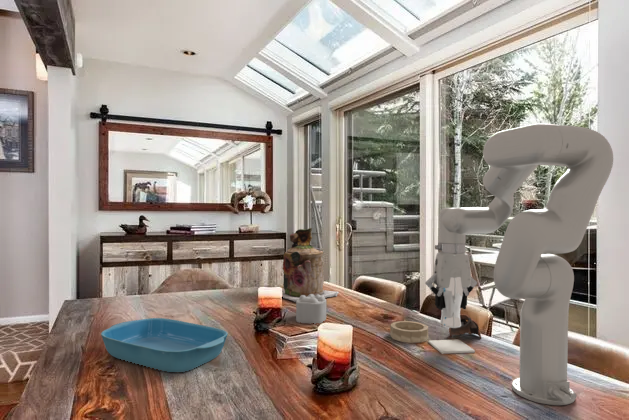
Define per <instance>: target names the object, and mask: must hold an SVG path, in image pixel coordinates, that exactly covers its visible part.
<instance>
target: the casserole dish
mask: <svg viewBox="0 0 629 420" xmlns="http://www.w3.org/2000/svg"><path fill="white" fill-rule="evenodd" d="M228 334H229V333H228V331H226V330H224V329H222V328H217V327H213V326H207V325H202V324H197V323H193V322H187V321H184V320H183V321H182V320H177V319H171V318H165V317H163V318H162V317H151V318H144V319H143V318H142V319H135V320H128V321H123V322H119V323H116V324H114V325H111V326H110V327H109V328H106V329H104V330H102V332H100V335H101V338H102V341H103V343H104V347H105V350H106V351H107V353H108V354H109V355H110V356H112V357H114V358H116V359H118V360H120V359H121V361H123V360H125V362H127V361H128V362H127V363H130V362H132V363H131V364H134V363H135V364H134V365H137V364H139V365H138V366H141V365H143V366H142V367H144V366H146V368H148V367H150V368H149V369H152V368H154V369H153V370H156V369H158V370H157V371H160V370H162V371H161V372H164V371H167V372H166V373H169V372H183V373H186V372H185V371H187V372H189V370H190V371H192V370H195V369H197V368H199V367H201V366H202V364H203V365H205V364H207V363H209V362H211V361H212V360H214V359H215V358H217V357H218V356H220V354H221V352H222V351H223V348H224V346H225V344H226V340H227V339H228V338H227V337H228ZM204 363H205V364H204ZM200 365H201V366H200ZM198 366H199V367H198ZM196 367H197V368H196ZM194 368H195V369H194Z"/></svg>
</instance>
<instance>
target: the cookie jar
mask: <svg viewBox="0 0 629 420" xmlns="http://www.w3.org/2000/svg"><path fill="white" fill-rule="evenodd" d="M312 229H313V228H312V227H309V228H307V229H304V228H303V229H302V228H299V229H297V230H295V232H294V233H291V234H290V235H289V239H290V242H291V243H292V244H291V247H290V248H288V249H287V250H286V251H285V252H284V253H283V261H282V271H283V278H284V280H283V287H282V288H283V290H281V291H282V292H283V299H286V300H289V301H292V302H294V303H296V301H297V300H298V299H299V298H300V296H301V295H305V296H306V297H307V296H308V295H309V294H313V295H314V296H316V295H317V294H319V295H320V296H323V297H324V298H325V299H327V298H332V297H338V294H339V293H340V292H339V291H335V290H334V291H332V290H326V289H325V290H324V287H323V286H324V283H325V280H324V279H325V276H324V268H323V267H324V266H323V259H322V257H323V255H324V251H323V250H319V249H316V248H315V247H314V246H312V244H311V242H312V239H313V237H312Z"/></svg>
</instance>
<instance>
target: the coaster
mask: <svg viewBox="0 0 629 420" xmlns="http://www.w3.org/2000/svg"><path fill="white" fill-rule="evenodd" d="M427 342H428V344H429V345H431V346H432V347H433V348H434V349H436V350H437V351H438V352H439V353H440V354H442V355H444V354H468V353H469V354H471V353H476V350H475V349H473V347H470V346H469V345H468V344H466V343H465V342H463V341H462V340H460V339H439V340H438V339H437V340H436V339H434V340H433V339H432V340H431V339H430V340H429V339H428V340H427Z"/></svg>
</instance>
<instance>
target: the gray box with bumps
mask: <svg viewBox="0 0 629 420" xmlns="http://www.w3.org/2000/svg"><path fill="white" fill-rule="evenodd" d="M295 308H296V309H295V321H296V322H297V323H300V322H301V323H302V324H311V323H314V324H313V325H316V323H319V324H321V323H324V322H325V321H326V320H327V298H324V297H323V296H320V295H319V294H317V295H316V296H314V295H313V294H309V295H308V296H307V297H306V296H305V295H301V296H300V298H299V299H298V300H297V301H296V302H295ZM323 321H324V322H323ZM301 323H300V324H301Z"/></svg>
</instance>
